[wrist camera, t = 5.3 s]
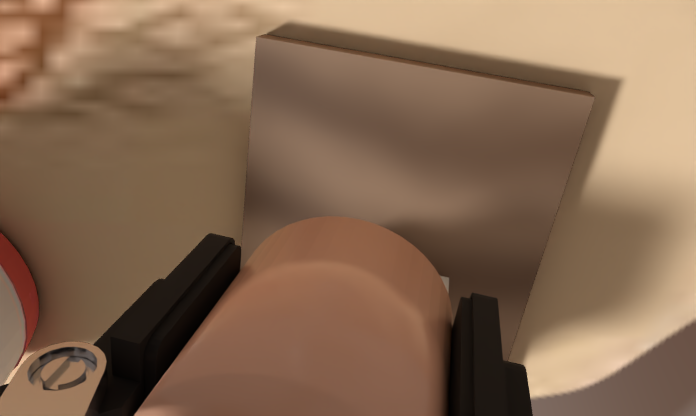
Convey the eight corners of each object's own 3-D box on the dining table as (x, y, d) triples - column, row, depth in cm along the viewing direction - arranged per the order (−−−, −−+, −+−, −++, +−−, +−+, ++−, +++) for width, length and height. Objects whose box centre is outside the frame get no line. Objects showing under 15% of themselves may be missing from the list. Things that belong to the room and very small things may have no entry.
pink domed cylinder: (246, 194, 12) (113, 335, 7) (476, 244, 11) (481, 428, 7) (235, 371, 14) (126, 562, 10) (427, 420, 13) (407, 647, 9)
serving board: (264, 34, 26) (256, 36, 25) (589, 92, 24) (595, 97, 23) (241, 339, 33) (233, 351, 32) (488, 400, 32) (489, 415, 31)
